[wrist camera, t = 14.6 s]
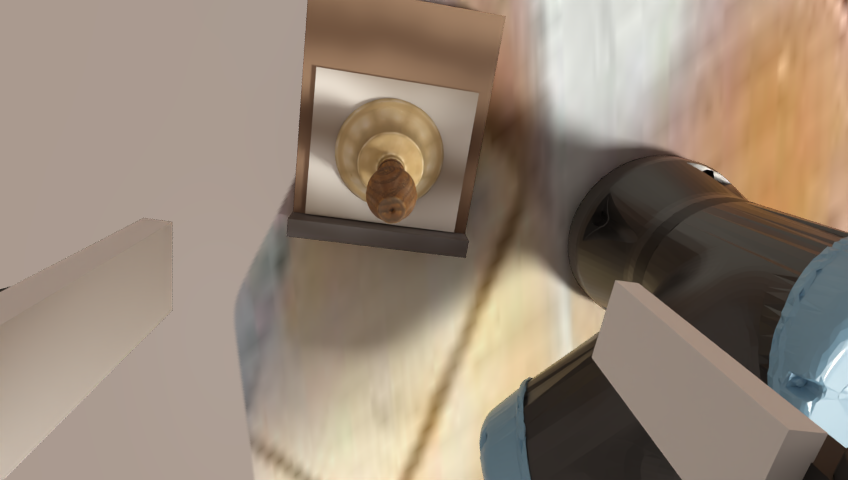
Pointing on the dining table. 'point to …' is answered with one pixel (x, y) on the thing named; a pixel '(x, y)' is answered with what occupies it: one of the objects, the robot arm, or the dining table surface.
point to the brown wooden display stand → (399, 79)
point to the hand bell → (389, 156)
